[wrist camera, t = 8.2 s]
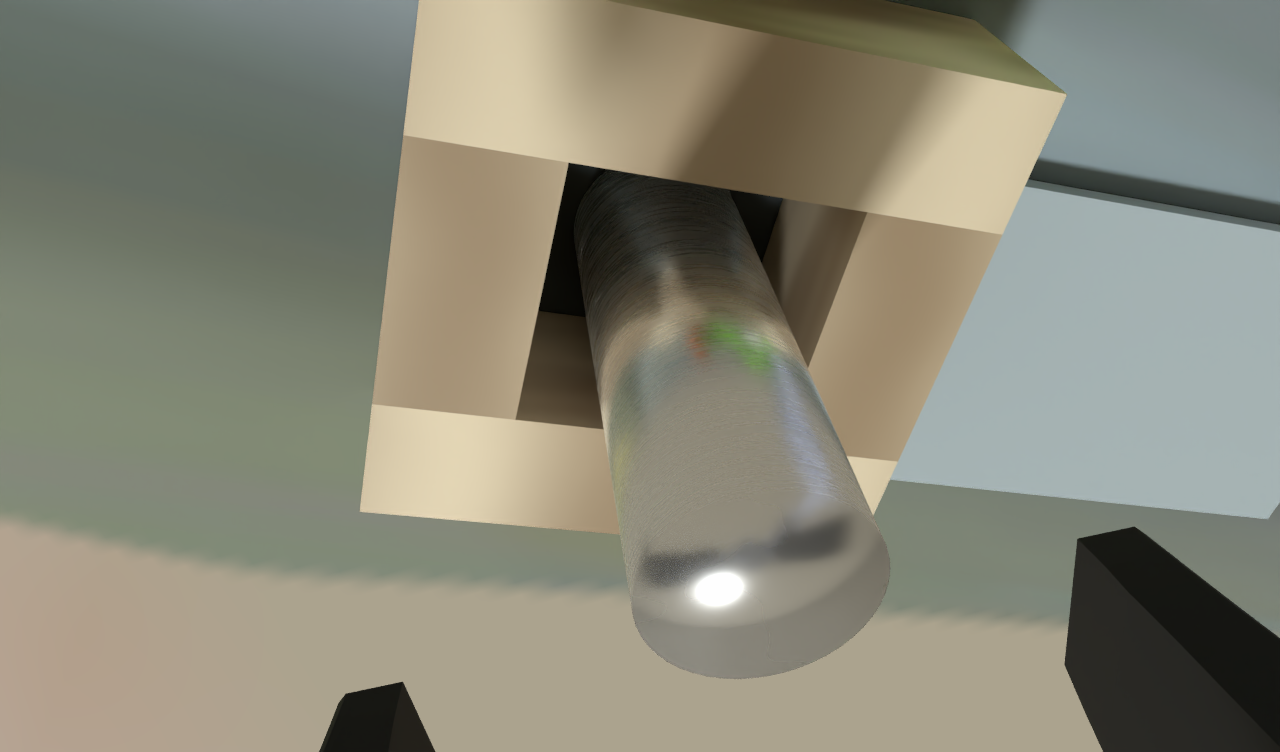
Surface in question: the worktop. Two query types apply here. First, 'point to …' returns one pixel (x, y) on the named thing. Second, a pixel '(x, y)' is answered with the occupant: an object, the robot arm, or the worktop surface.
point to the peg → (717, 440)
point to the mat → (1114, 360)
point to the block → (695, 153)
